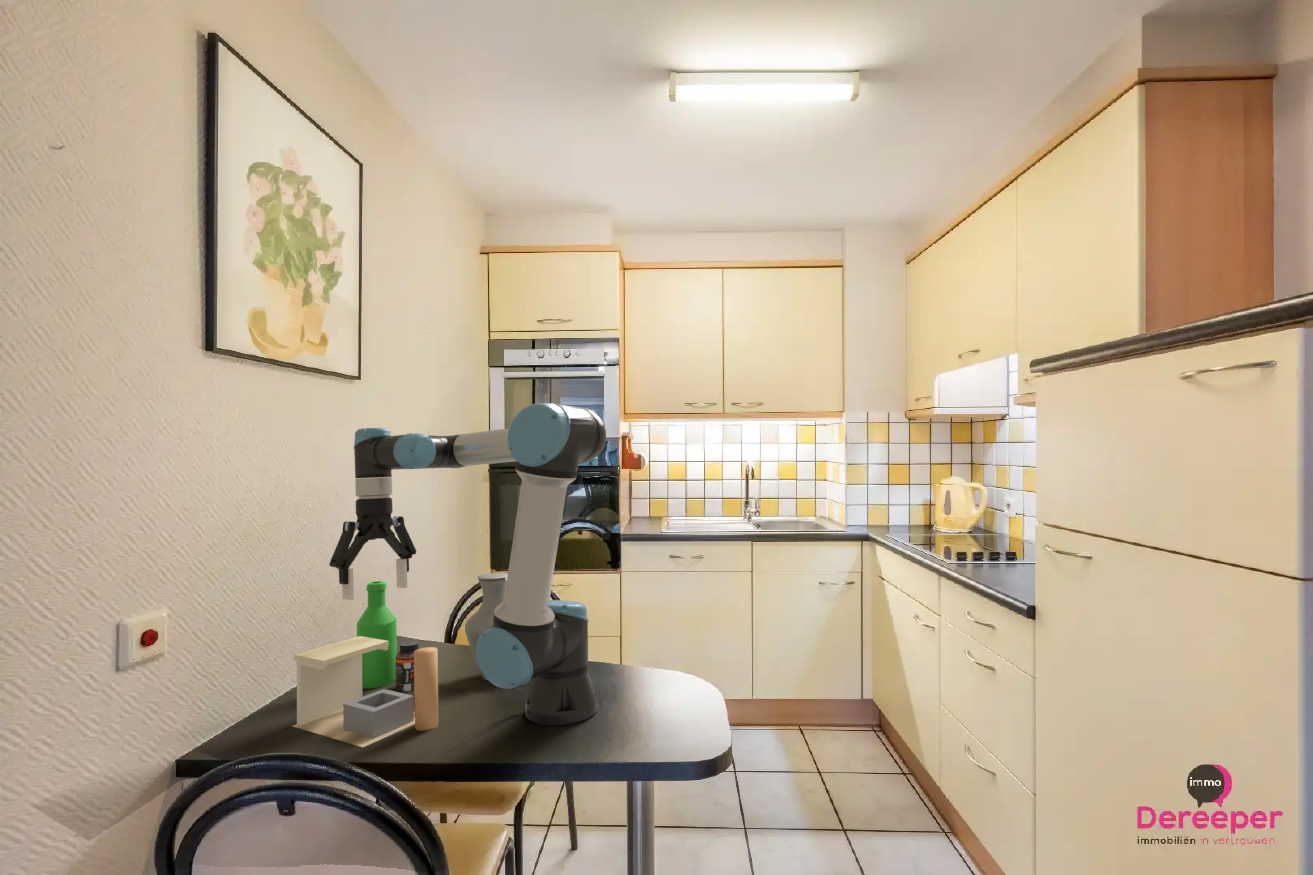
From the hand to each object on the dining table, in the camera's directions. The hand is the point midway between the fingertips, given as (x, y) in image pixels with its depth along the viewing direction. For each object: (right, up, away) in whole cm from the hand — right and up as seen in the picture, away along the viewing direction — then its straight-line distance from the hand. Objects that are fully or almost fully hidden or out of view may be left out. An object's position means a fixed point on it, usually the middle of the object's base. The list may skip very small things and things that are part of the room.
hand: (376, 593), depth 142 cm
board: (+3, -24, -12) cm, 27 cm away
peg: (+17, -24, -15) cm, 33 cm away
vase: (+22, -25, +17) cm, 38 cm away
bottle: (-5, -26, +12) cm, 29 cm away
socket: (+7, -23, -14) cm, 28 cm away
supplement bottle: (+4, -25, +8) cm, 27 cm away
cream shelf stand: (-3, -23, -9) cm, 25 cm away
